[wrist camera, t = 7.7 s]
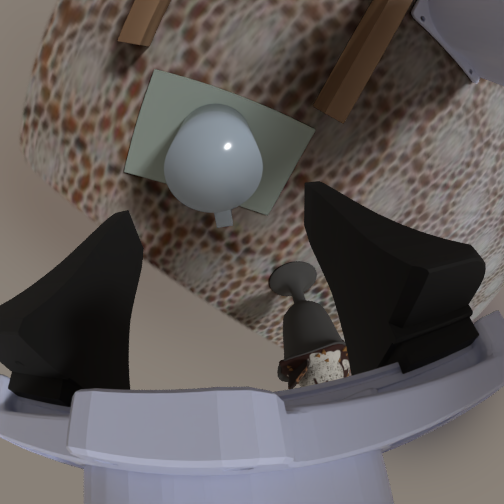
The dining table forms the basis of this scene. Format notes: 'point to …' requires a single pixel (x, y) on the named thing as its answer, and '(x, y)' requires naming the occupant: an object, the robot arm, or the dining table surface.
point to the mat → (198, 94)
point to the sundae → (307, 332)
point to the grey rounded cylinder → (214, 162)
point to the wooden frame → (346, 69)
